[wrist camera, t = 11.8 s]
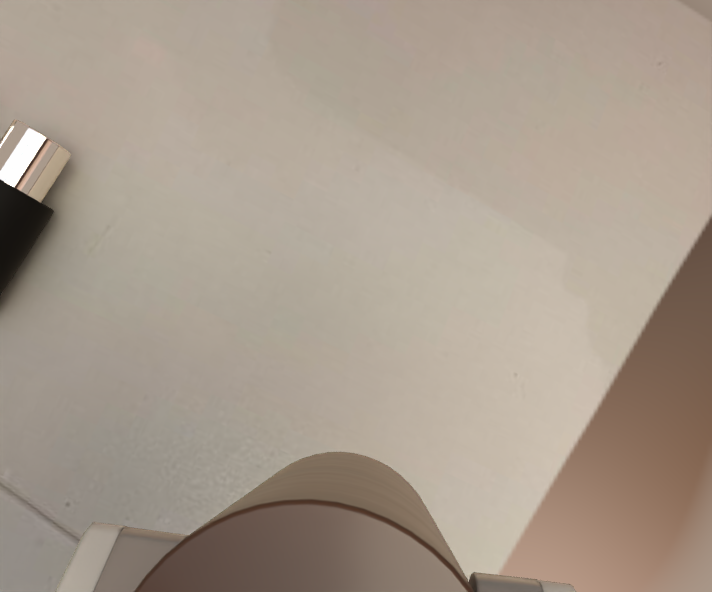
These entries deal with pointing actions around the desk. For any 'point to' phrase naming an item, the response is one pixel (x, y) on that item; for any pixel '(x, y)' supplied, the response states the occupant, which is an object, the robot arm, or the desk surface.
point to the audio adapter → (24, 192)
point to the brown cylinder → (316, 537)
